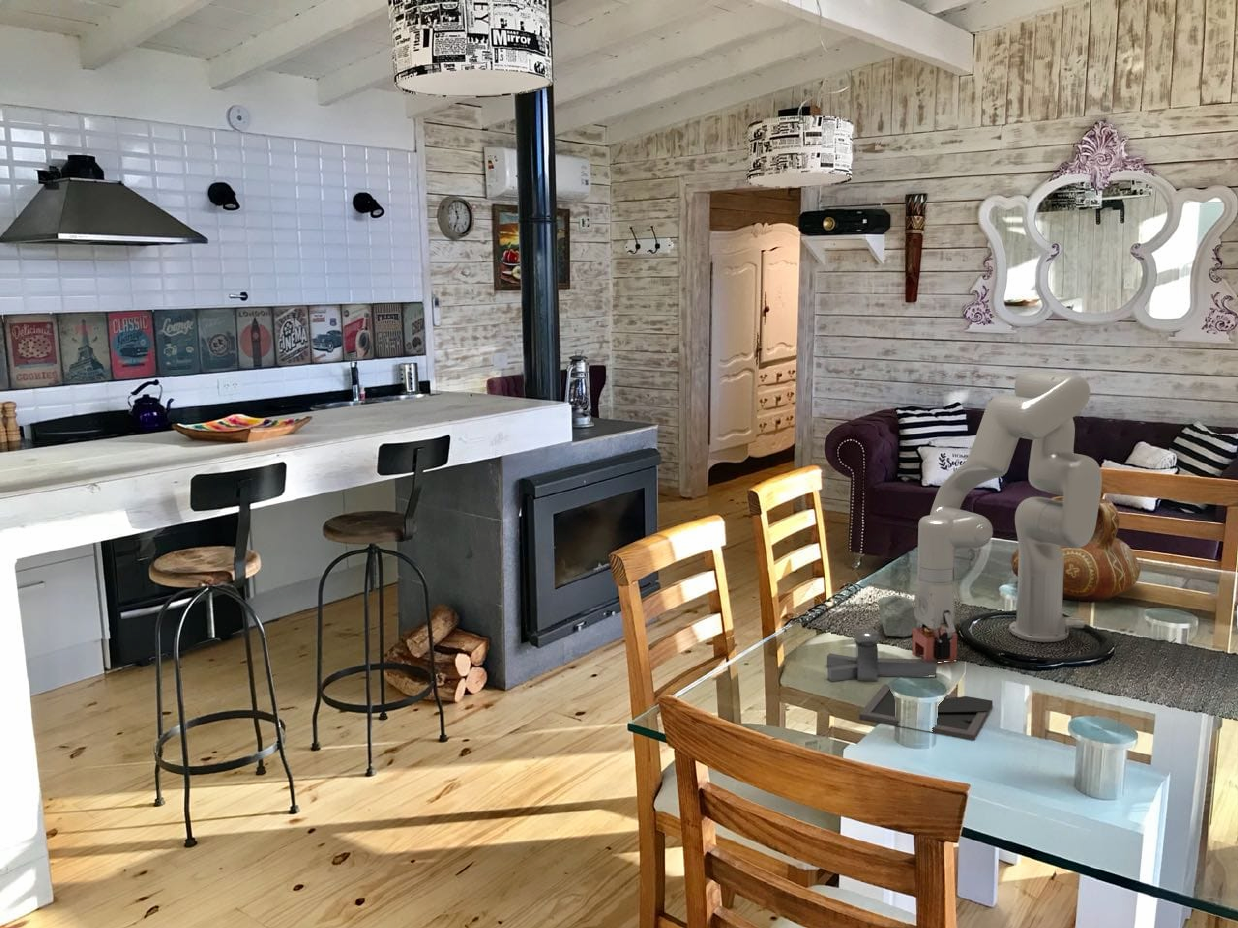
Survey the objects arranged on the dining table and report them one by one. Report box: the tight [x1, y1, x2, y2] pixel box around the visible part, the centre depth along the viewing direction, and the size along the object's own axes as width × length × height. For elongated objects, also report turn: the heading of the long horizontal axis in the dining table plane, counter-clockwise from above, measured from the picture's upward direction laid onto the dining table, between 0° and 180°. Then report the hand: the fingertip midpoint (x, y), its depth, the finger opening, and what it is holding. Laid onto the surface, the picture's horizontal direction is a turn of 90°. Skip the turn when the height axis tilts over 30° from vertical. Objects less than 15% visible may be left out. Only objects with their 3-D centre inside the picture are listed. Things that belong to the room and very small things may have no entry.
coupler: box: [826, 628, 937, 683], centre depth 218 cm, size 22×10×9 cm, turn 80°
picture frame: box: [859, 683, 994, 741], centre depth 199 cm, size 16×2×21 cm
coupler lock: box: [912, 624, 958, 664], centre depth 225 cm, size 7×6×7 cm
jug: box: [1010, 495, 1141, 604], centre depth 265 cm, size 30×30×25 cm
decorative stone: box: [877, 595, 919, 638], centre depth 243 cm, size 13×11×10 cm
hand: (934, 652), depth 226 cm, fingers closed on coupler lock, 6 cm apart
